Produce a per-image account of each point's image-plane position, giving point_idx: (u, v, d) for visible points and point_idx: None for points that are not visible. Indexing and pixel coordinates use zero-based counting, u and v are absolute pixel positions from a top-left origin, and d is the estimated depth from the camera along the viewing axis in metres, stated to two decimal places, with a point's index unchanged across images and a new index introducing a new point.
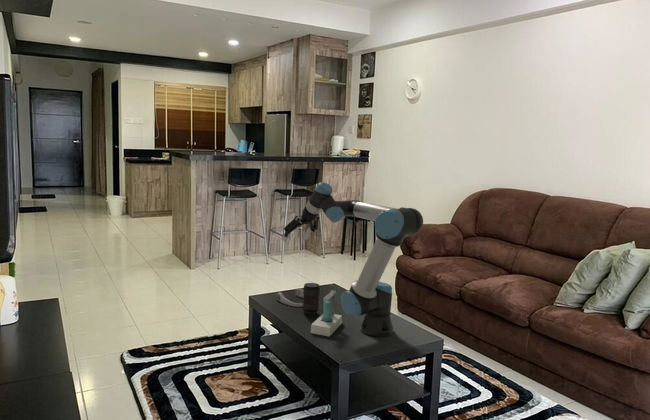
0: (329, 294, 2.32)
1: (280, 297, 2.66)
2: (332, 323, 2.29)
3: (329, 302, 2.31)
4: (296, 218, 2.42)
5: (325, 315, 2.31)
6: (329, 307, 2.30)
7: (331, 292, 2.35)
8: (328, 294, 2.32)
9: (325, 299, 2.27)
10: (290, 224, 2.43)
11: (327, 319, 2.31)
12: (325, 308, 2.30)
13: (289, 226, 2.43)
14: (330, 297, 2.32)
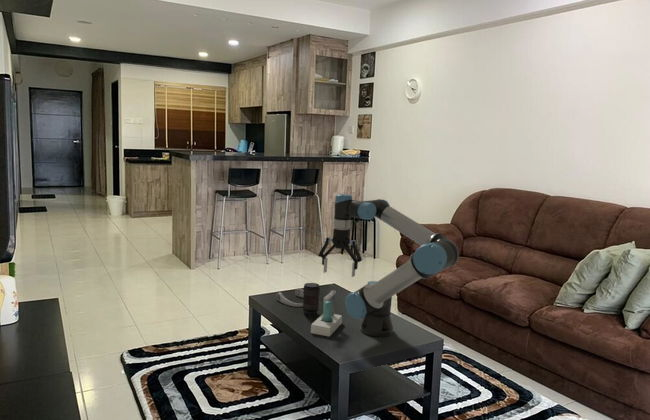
0: (329, 294, 2.32)
1: (280, 297, 2.66)
2: (332, 323, 2.29)
3: (329, 302, 2.31)
4: None
5: (325, 315, 2.31)
6: (329, 307, 2.30)
7: (331, 292, 2.35)
8: (328, 294, 2.32)
9: (325, 299, 2.27)
10: None
11: (327, 319, 2.31)
12: (325, 308, 2.30)
13: None
14: (330, 297, 2.32)
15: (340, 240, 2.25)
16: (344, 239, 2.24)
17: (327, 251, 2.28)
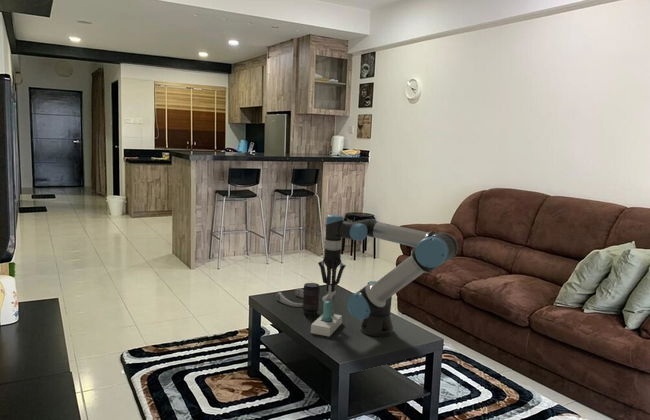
0: None
1: (280, 297, 2.66)
2: (332, 323, 2.29)
3: (329, 302, 2.31)
4: None
5: (325, 315, 2.31)
6: (329, 307, 2.30)
7: None
8: (327, 294, 2.32)
9: (324, 299, 2.27)
10: None
11: (327, 319, 2.31)
12: (325, 308, 2.30)
13: None
14: None
15: (331, 260, 2.28)
16: (337, 258, 2.26)
17: (327, 276, 2.29)
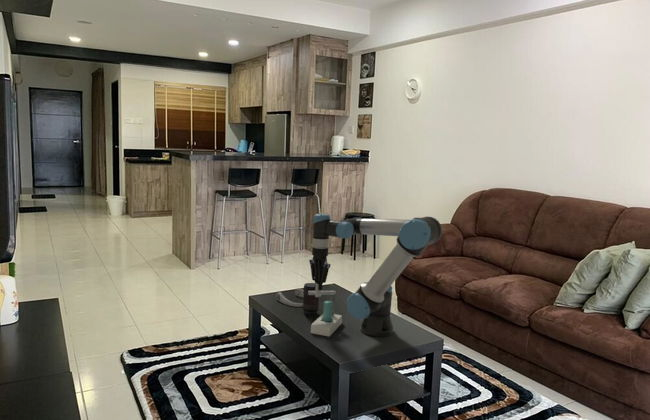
0: (321, 291, 2.36)
1: (280, 297, 2.66)
2: (332, 323, 2.29)
3: (329, 302, 2.31)
4: None
5: (325, 315, 2.31)
6: (329, 307, 2.30)
7: (328, 291, 2.37)
8: None
9: (308, 292, 2.35)
10: None
11: (327, 319, 2.30)
12: (325, 309, 2.30)
13: None
14: None
15: (318, 258, 2.32)
16: (322, 257, 2.30)
17: (314, 273, 2.34)
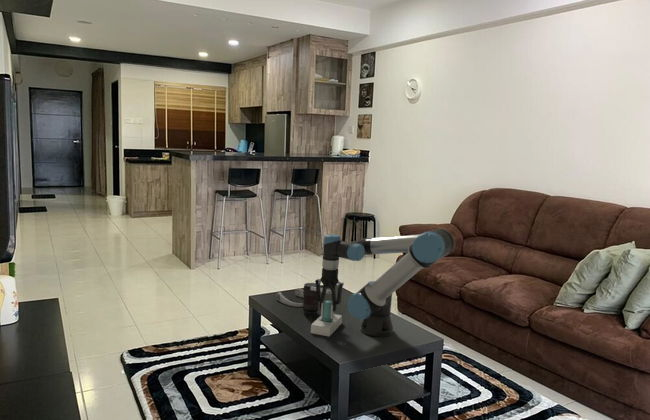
0: (322, 288, 2.40)
1: (280, 297, 2.66)
2: (332, 323, 2.29)
3: (329, 302, 2.31)
4: None
5: (325, 315, 2.31)
6: (329, 307, 2.30)
7: (328, 290, 2.39)
8: (322, 288, 2.41)
9: None
10: None
11: (327, 319, 2.31)
12: (325, 308, 2.30)
13: None
14: (321, 291, 2.40)
15: (328, 279, 2.29)
16: (334, 278, 2.28)
17: (321, 294, 2.31)
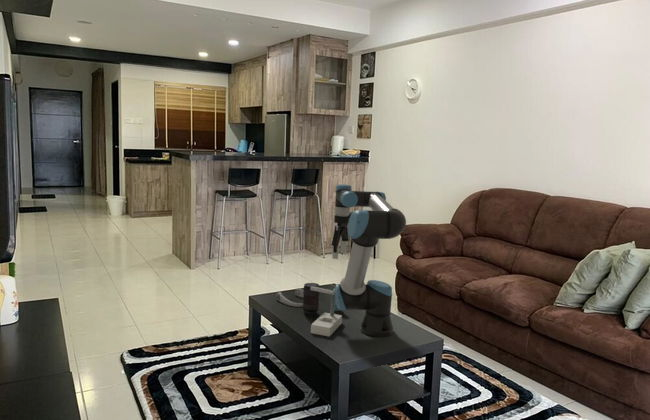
0: (322, 288, 2.40)
1: (280, 297, 2.66)
2: (332, 323, 2.29)
3: None
4: (336, 228, 2.46)
5: None
6: None
7: (328, 290, 2.39)
8: (322, 288, 2.41)
9: None
10: (335, 236, 2.46)
11: None
12: None
13: (335, 238, 2.45)
14: (321, 291, 2.40)
15: (343, 225, 2.53)
16: (344, 223, 2.54)
17: (339, 238, 2.48)
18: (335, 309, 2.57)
